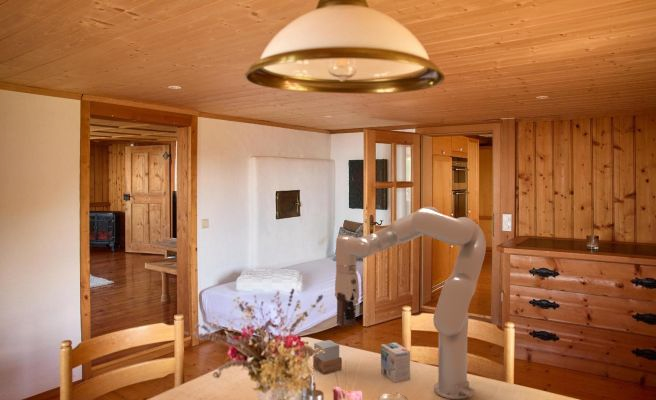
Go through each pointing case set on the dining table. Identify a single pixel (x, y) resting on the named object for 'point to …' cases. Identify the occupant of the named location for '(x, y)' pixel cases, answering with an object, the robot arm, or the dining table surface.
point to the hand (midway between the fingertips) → (346, 316)
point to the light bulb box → (395, 362)
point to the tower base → (327, 365)
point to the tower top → (327, 350)
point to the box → (343, 311)
